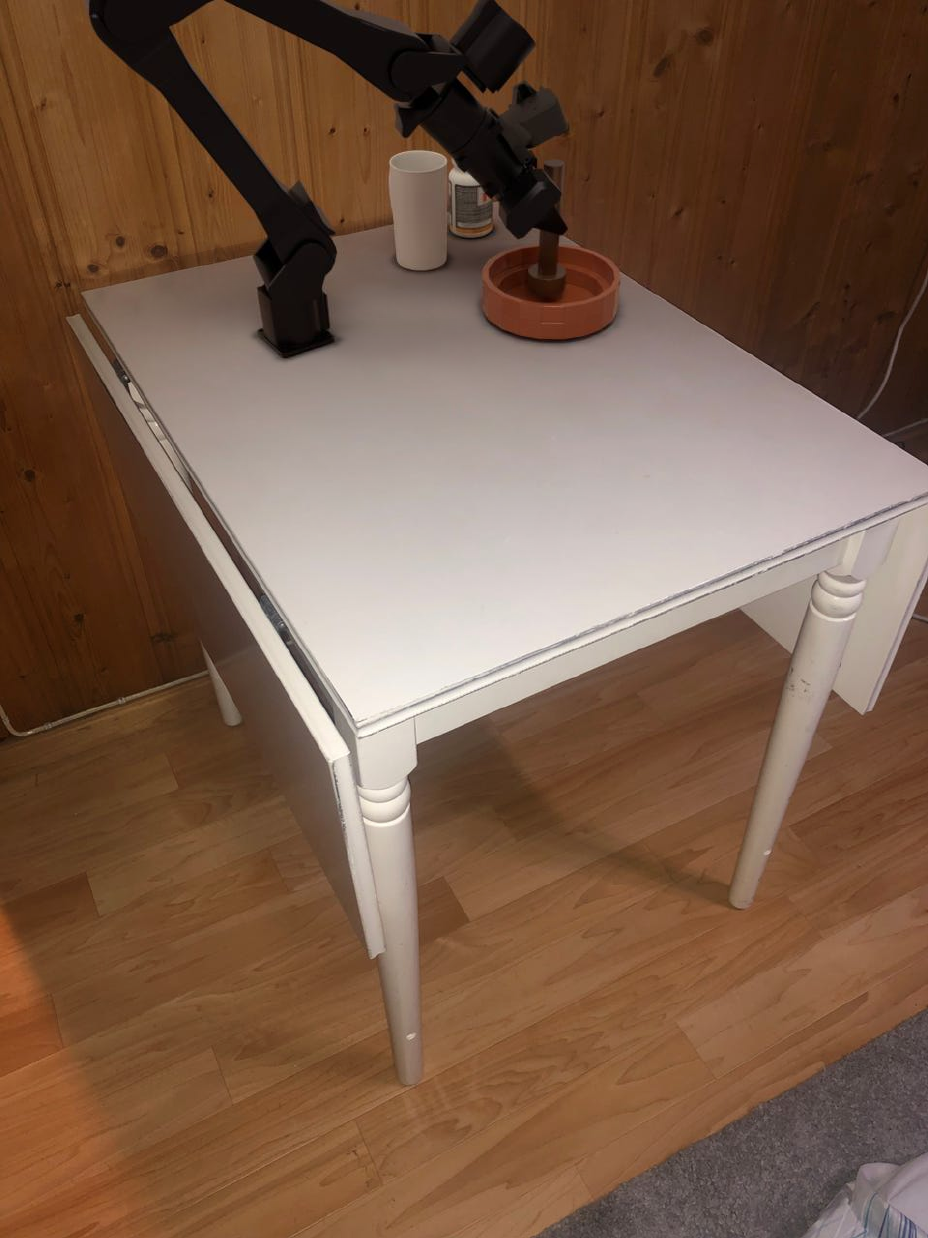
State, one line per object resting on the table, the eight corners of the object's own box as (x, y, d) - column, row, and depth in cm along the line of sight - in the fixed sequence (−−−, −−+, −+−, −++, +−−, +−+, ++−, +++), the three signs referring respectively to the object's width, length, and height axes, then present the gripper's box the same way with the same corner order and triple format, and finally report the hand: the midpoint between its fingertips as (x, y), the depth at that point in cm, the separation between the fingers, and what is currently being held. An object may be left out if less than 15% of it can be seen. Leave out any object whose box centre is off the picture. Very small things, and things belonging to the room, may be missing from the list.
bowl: (536, 358, 110) (538, 320, 106) (456, 302, 119) (456, 265, 116) (643, 318, 116) (648, 281, 113) (559, 268, 125) (562, 232, 122)
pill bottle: (501, 229, 133) (503, 150, 126) (472, 243, 130) (472, 163, 123) (469, 217, 136) (469, 139, 129) (440, 230, 133) (438, 152, 126)
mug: (459, 262, 126) (458, 163, 118) (413, 277, 123) (409, 176, 115) (415, 234, 132) (412, 137, 124) (371, 247, 129) (364, 149, 121)
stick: (564, 297, 116) (574, 171, 106) (525, 295, 116) (532, 169, 106) (565, 279, 119) (575, 155, 109) (528, 277, 119) (534, 154, 109)
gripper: (547, 95, 94) (645, 205, 103) (499, 37, 107) (590, 140, 116) (463, 187, 98) (564, 285, 107) (427, 122, 111) (520, 214, 121)
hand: (561, 227), depth 113 cm, fingers closed on stick, 2 cm apart
